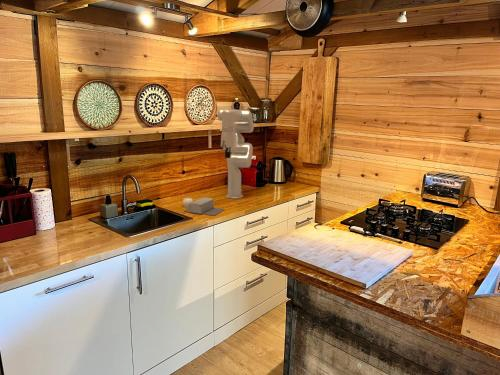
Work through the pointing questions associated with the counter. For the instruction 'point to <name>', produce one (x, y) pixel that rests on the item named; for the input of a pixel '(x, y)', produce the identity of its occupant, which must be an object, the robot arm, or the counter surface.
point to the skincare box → (202, 205)
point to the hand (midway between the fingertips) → (227, 157)
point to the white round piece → (187, 202)
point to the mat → (210, 212)
